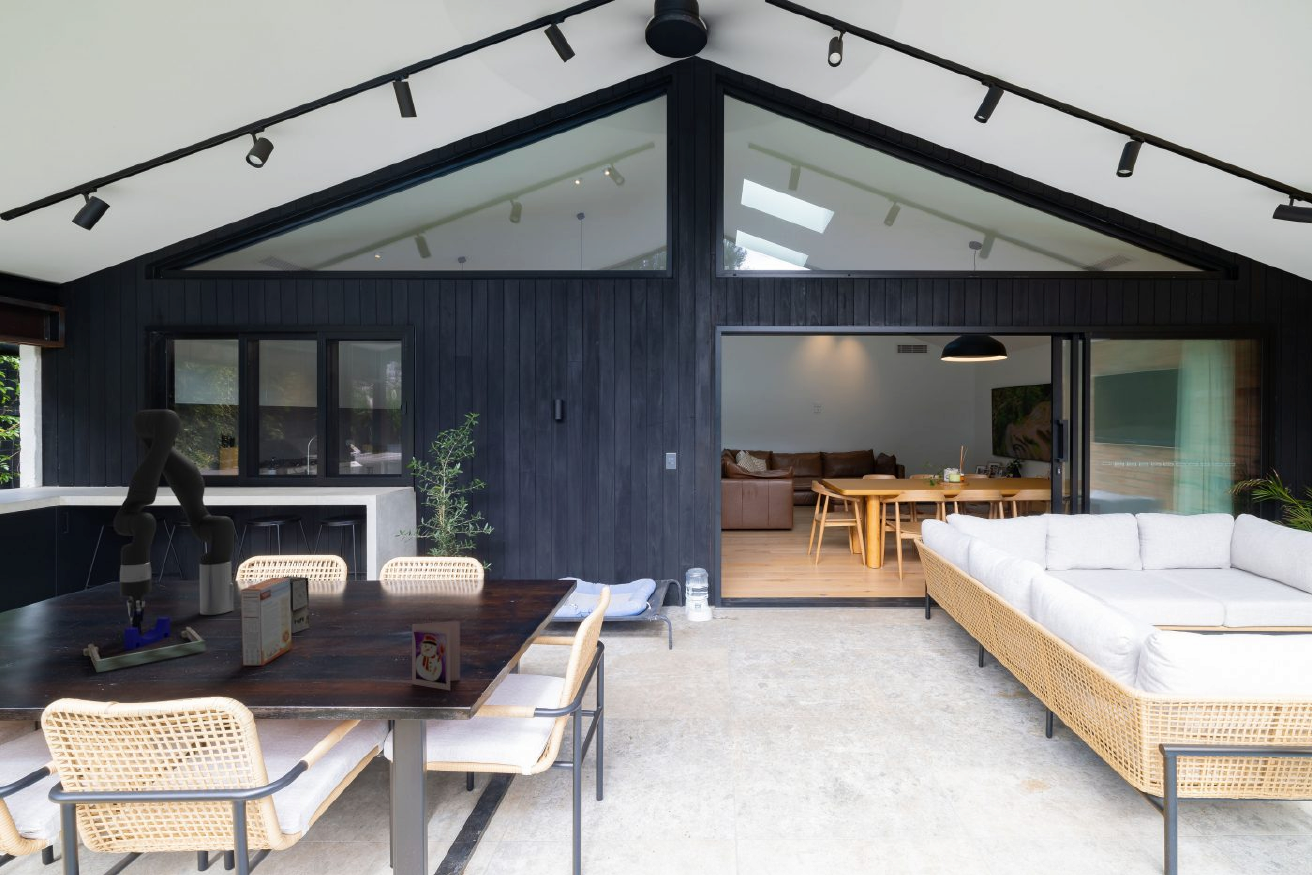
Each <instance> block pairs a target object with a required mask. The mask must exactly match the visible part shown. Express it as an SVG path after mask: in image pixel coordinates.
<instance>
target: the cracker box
mask: <svg viewBox="0 0 1312 875" xmlns="http://www.w3.org/2000/svg"><path fill="white" fill-rule="evenodd" d="M240 602H241V603H240V608H241V610H240V611H241V639H242V642H241V644H242V646H241V647H242V665H243V666H244V667H250V666H251V667H253V666H254V667H256V666H257V667H259V666H260V667H263V666H265V665H267V664H268V663H269V662H271V661H273V660H275V659H276V658H278V657H280V656H281V655H283V654H285V653H286V652H288V651H290V650H292V633H291V609H290V578H282V577H271V578H268V579H266V580H262V581H260V582H258V583H256V584H253V585H250V586H247V587H245V588H242V589H241V590H240Z"/></svg>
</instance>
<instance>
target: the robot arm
mask: <svg viewBox="0 0 1312 875" xmlns="http://www.w3.org/2000/svg"><path fill="white" fill-rule="evenodd" d="M132 427H133V430H134V431H135V434H136V435H137V437H138V438H139V439H140V442H142V444H143V445H144V446H145V448H146V449H147V451H148V453H147V454H146V456H145V457H144V458H143V459H142V461H141V462H140V463H139V464H138V466H137V467H136V469H135V470H134V472H133V473H132V475H131V478H130V482H129V486H128V491H127V495H126V498H125V500H124V501H123V502H122V504H121V505H120V508H119V509H118V511H117V513H116V515H115V517H114V519H113V527H114V528H113V529H114V531H115V532H116V534H118V535H120V536H127V537H129V536H133V538H132V541H131V542H130V543H127V544H125V545H122V547H121V549H120V569H119V595H120V596H121V597H127V598H128V597H129V599H128V600H126V606H127V609H128V610H127V611H128V616H129V618H128V619H129V623H130V625H131V626H130V627H133V628H138V631H139V634H140V635H141V636H142V623H143V621H144V614H145V606H146V600H145V599H144V598H143V595H148V594H150V593H151V592H152V567H151V551H150V550H151V546H152V543H153V541H154V536H155V533H156V530H157V521H156V518H155V516H154V515H153V514H151V513H149V512H143V511H142V509H143V508H144V507H147V506H151V505H152V504H154V503H155V501H156V498H157V494H158V489H159V484H160V481H161V477H162V474H163V476H164V479H165V480H166V482H167V484H168V486H169V487H170V489H171V491H172V492H173V494H174V495H175V497H176V500H177V501H178V503H179V505H180V507H181V508H182V511H183V513H184V514H185V515H184V516H185V517H186V521H187V522H188V525H189V527H190V530H191V532H192V534H193V536H194V537H195V539H196V540H197V541H199V542H201V543H205V544H206V543H209V544H210V550H209V551H207V552H205V553H202V554H201V555H200V556H199V560H198V561H199V614H200V615H202V616H215V615H221V614H225V613H229V612H232V611H234V583H232V556H233V554H234V549H235V547H234V546H235V525H234V521H233V520H232V519H231V517H229V516H226V515H225V516H223V515H211V514H210V513H209V510H207V508H206V505H205V503H204V496H205V491H206V490H205V488H206V487H205V486H206V484H205V479H204V478H203V476H202V474H201V472H200V469H199V468H198V466H197V465H196V464H195V463H194V462H193V461H192V460H191V459H190V458H189V457H187V456H186V455H185V453H184V454H183V452H181V451H179V450H178V449H177V448H176V447H175V446H174V444H175V442H176V439H177V437H178V434H179V432H180V430H181V429H180V427H181V419H180V416H179V415H178V413H176V411H174V410H173V409H172V410H171V409H163V408H162V409H143V410H139V411H137V412H136V413H135V414H134V415H133V418H132ZM141 511H142V512H141Z"/></svg>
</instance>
